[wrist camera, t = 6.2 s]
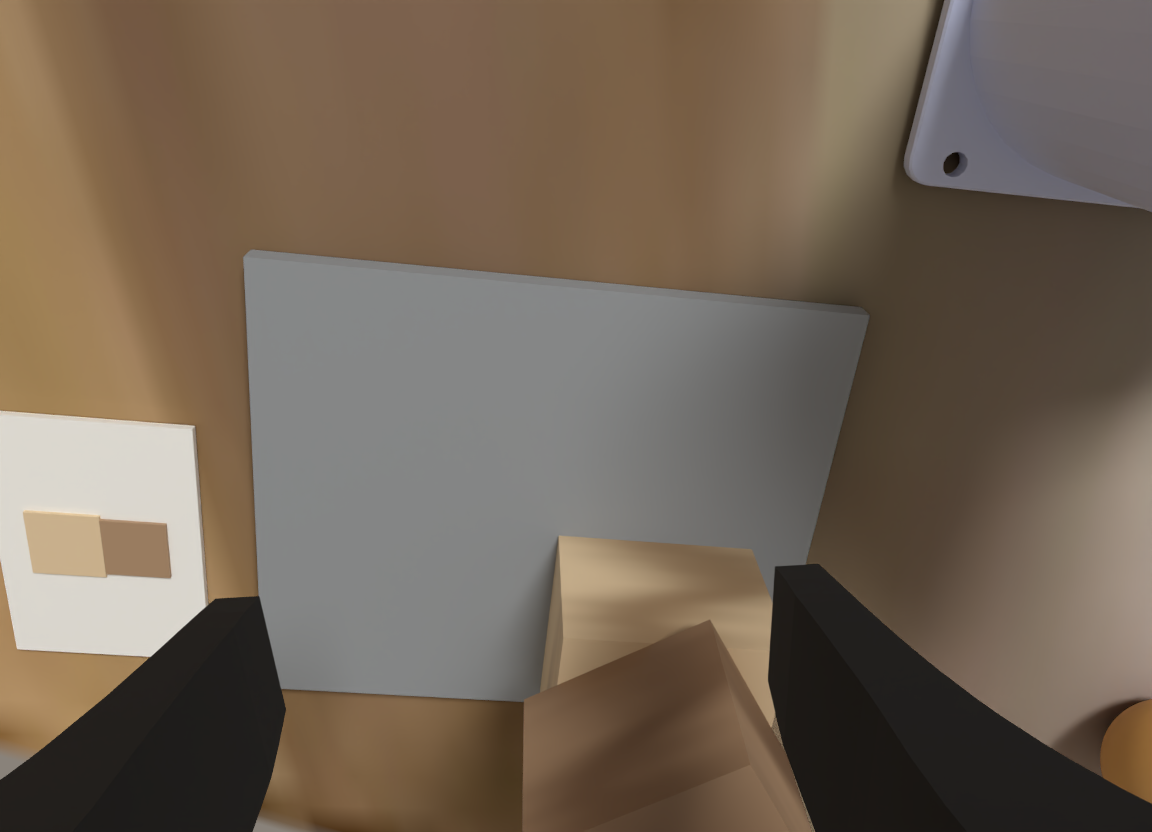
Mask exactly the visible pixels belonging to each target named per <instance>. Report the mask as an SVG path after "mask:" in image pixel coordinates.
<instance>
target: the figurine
mask: <svg viewBox="0 0 1152 832" xmlns="http://www.w3.org/2000/svg"><path fill="white" fill-rule="evenodd" d="M1100 765H1101V771H1102V776H1103V778H1104V779H1106V780H1108V781H1109V782H1111V783H1113V784H1115V785H1117V786H1118V787H1120V788H1122V789H1124V790H1126V791H1128V792H1130V793H1132V794H1134V795H1136V796H1138V797H1140V798H1142V799H1144V800H1146V801H1148V802H1149V803H1151V804H1152V699H1150V700H1146V701H1142V702H1140V703H1137V704H1135V705H1133V706H1131V707H1129V708H1127V709H1126V710H1124V711H1123V712H1122V713H1121V714H1119V715H1118V716H1117V717H1116V718H1115V719H1114V721H1113V722H1112V723H1111V725H1110V726H1109V728H1108V729H1107V731H1106V733H1105V736H1104V738H1103V741H1102V745H1101V752H1100Z"/></svg>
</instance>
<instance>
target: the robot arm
mask: <svg viewBox="0 0 1152 832" xmlns="http://www.w3.org/2000/svg"><path fill="white" fill-rule="evenodd" d="M954 152H958V154H959V156H960V163H959V165H958V167H957V168H956V169H955V170H954V171H953V172H951V173H947V174H945V172H944V170H943V163H944V161H945V159H946V157H947V156H949V155H950V154H952V153H954ZM904 168H905V171H906V174H907V175H908V176H909V177H910V178H911V179H912V180H913V181H915V182H917V183H920V184H923V185H927V186H936V187H946V188H955V189H964V190H974V191H983V192H993V193H1002V194H1011V195H1021V196H1030V197H1039V198H1049V199H1058V200H1067V201H1077V202H1086V203H1096V204H1105V205H1114V206H1124V207H1133V208H1142V209H1144V210H1147V211H1150V212H1152V0H944V4H943V8H942V12H941V16H940V20H939V24H938V27H937V31H936V35H935V39H934V43H933V47H932V51H931V55H930V59H929V63H928V67H927V70H926V74H925V78H924V82H923V86H922V90H921V94H920V98H919V102H918V106H917V109H916V113H915V117H914V121H913V125H912V129H911V133H910V137H909V141H908V145H907V149H906V152H905V156H904ZM768 684H769V688H770V692H771V697H772V701H773V705H774V710H775V714H776V718H777V722H778V726H779V730H780V734H781V738H782V742H783V746H784V749H785V751H786V754H787V757H788V760H789V762H790V765H791V768H792V771H793V773H794V776H795V779H796V781H797V784H798V787H799V789H800V792H801V795H802V797H803V800H804V803H805V805H806V808H807V811H808V813H809V816H810V818H811V821H812V824H813V826H814V829H815V832H1152V804H1151V803H1149V802H1148V801H1146V800H1144V799H1142V798H1140V797H1138V796H1136V795H1134V794H1132V793H1130V792H1128V791H1126V790H1124V789H1122V788H1120V787H1118V786H1117V785H1115V784H1113V783H1111V782H1109V781H1108V780H1106V779H1104V778H1102V777H1100V776H1099V775H1097V774H1095V773H1093V772H1091V771H1090V770H1088V769H1086V768H1084V767H1082V766H1081V765H1079V764H1077V763H1075V762H1073V761H1072V760H1070V759H1068V758H1067V757H1065V756H1063V755H1062V754H1060V753H1058V752H1057V751H1055V750H1053V749H1051V748H1050V747H1048V746H1047V745H1045V744H1043V743H1042V742H1040V741H1039V740H1037V739H1036V738H1034V737H1033V736H1031V735H1029V734H1028V733H1026V732H1025V731H1023V730H1022V729H1020V728H1019V727H1017V726H1016V725H1014V724H1013V723H1011V722H1009V721H1008V720H1006V719H1005V718H1003V717H1002V716H1000V715H999V714H997V713H996V712H994V711H993V710H992V709H990V708H989V707H987V706H986V705H984V704H983V703H982V702H980V701H979V700H977V699H976V698H975V697H973V696H972V695H971V694H969V693H968V692H967V691H965V690H964V689H963V688H962V687H960V686H959V685H958V684H956V683H955V682H954V681H952V680H951V679H950V678H948V677H947V676H946V675H944V674H943V673H942V672H940V671H939V670H938V669H937V668H935V667H934V666H933V665H932V664H930V663H929V662H928V661H927V660H926V659H924V658H923V657H922V656H921V655H919V654H918V653H917V652H916V651H915V650H913V649H912V648H911V647H910V646H909V645H907V644H906V643H905V642H904V641H903V640H902V639H900V638H899V637H898V636H897V635H896V634H895V633H893V632H892V631H891V630H890V629H889V628H888V627H887V626H885V625H884V624H883V623H882V622H881V621H880V620H879V619H878V618H877V617H875V616H874V615H873V614H872V613H871V612H870V611H869V610H868V609H867V608H866V607H865V606H863V605H862V604H861V603H860V602H859V601H858V600H857V599H856V598H855V597H854V596H853V595H852V594H850V593H849V592H848V591H847V590H846V589H845V588H844V587H843V586H842V585H841V584H840V583H839V582H837V581H836V580H835V579H834V578H833V577H832V576H831V575H830V574H829V573H828V572H827V571H826V570H824V569H823V568H822V567H821V566H820V565H819V564H808V565H790V566H775V573H774V589H773V605H772V620H771V636H770V652H769V668H768ZM285 711H286V708H285V703H284V699H283V695H282V691H281V686H280V682H279V678H278V673H277V669H276V665H275V661H274V656H273V652H272V648H271V643H270V639H269V635H268V631H267V626H266V622H265V618H264V614H263V609H262V605H261V601H260V596H256V597H238V598H221V599H215V600H214V601H212V602H211V603H210V604H209V605H208V606H206V607H205V608H204V609H203V610H202V611H201V612H199V613H198V614H197V615H196V616H195V617H194V618H193V619H192V620H190V621H189V622H188V623H187V624H186V625H185V626H184V627H183V628H182V629H181V630H179V631H178V632H177V633H176V634H175V635H174V636H173V637H172V638H171V639H170V640H169V641H167V642H166V643H165V644H164V645H163V646H162V647H161V648H160V649H159V650H158V651H157V652H155V653H154V654H153V655H152V656H151V657H150V658H149V659H148V660H147V661H145V662H144V663H143V664H142V665H141V666H140V667H139V668H138V669H136V670H135V671H134V672H133V673H132V674H131V675H130V676H129V677H127V678H126V679H125V680H124V681H123V682H122V683H121V684H120V685H118V686H117V687H116V688H115V689H114V690H113V691H112V692H111V693H109V694H108V695H107V696H106V697H105V698H104V699H102V700H101V701H100V702H99V703H98V704H96V705H95V706H94V707H93V708H91V709H90V710H89V711H88V712H87V713H85V714H84V715H83V716H82V717H80V718H79V719H78V720H77V721H76V722H74V723H73V724H72V725H71V726H69V727H68V728H67V729H66V730H65V731H63V732H62V733H61V734H60V735H59V736H57V737H56V738H55V739H54V740H52V741H51V742H50V743H49V744H48V745H46V746H45V747H44V748H43V749H41V750H40V751H39V752H37V753H36V754H35V755H33V756H32V757H31V758H30V759H28V760H27V761H26V762H24V763H23V764H22V765H20V766H19V767H17V768H16V769H15V770H13V771H12V772H11V773H9V774H8V775H7V776H6V777H4V778H2V779H1V780H0V832H252V831H253V828H254V826H255V823H256V820H257V817H258V814H259V812H260V809H261V806H262V803H263V800H264V797H265V794H266V792H267V789H268V786H269V783H270V780H271V776H272V772H273V768H274V763H275V759H276V755H277V750H278V746H279V741H280V736H281V731H282V726H283V721H284V716H285Z"/></svg>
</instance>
